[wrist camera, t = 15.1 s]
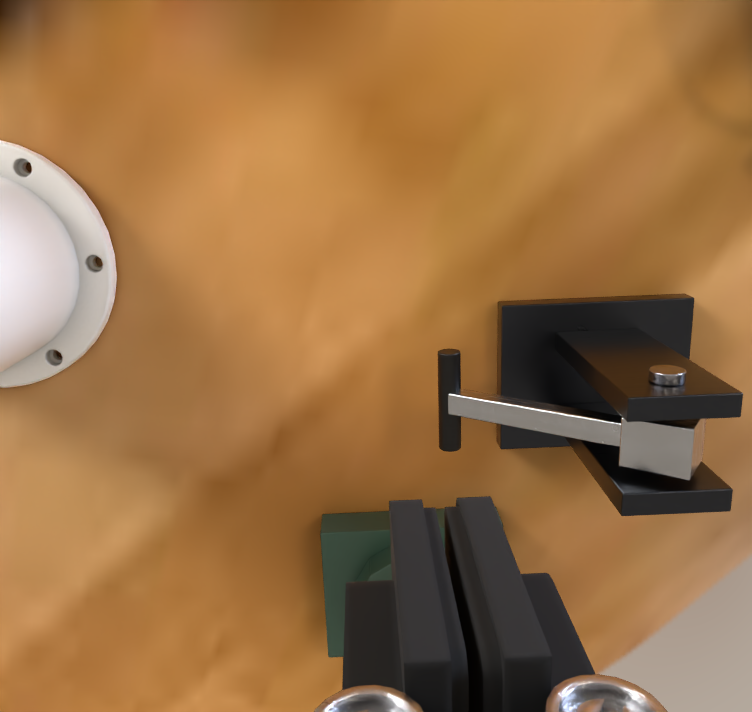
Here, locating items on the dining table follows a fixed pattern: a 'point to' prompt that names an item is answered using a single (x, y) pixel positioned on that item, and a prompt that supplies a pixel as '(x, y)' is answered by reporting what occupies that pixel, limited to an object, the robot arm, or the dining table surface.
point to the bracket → (614, 386)
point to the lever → (570, 425)
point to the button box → (354, 561)
